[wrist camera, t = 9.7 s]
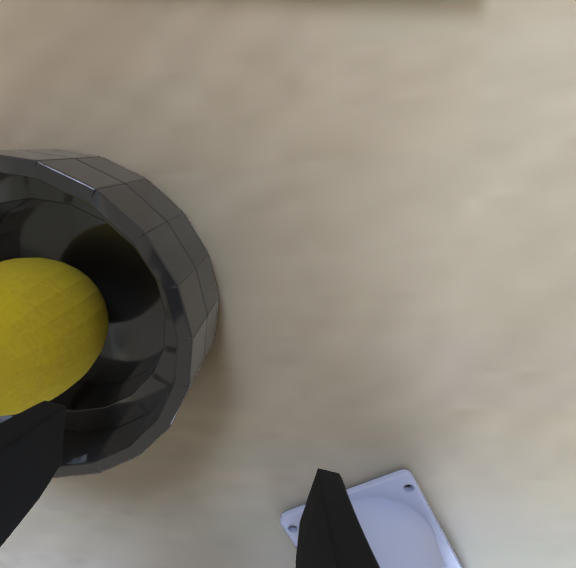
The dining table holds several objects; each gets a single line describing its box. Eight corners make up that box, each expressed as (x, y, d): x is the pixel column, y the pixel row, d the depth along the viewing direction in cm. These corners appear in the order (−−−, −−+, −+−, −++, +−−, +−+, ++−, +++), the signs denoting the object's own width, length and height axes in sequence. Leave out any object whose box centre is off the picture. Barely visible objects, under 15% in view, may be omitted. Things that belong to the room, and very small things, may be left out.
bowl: (268, 347, 21) (255, 407, 16) (64, 440, 23) (0, 515, 19) (117, 92, 17) (44, 73, 13) (-102, 235, 20) (-230, 262, 15)
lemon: (122, 233, 19) (-8, 293, 11) (147, 343, 21) (50, 459, 13) (8, 244, 19) (-189, 308, 12) (42, 351, 21) (-110, 467, 14)
